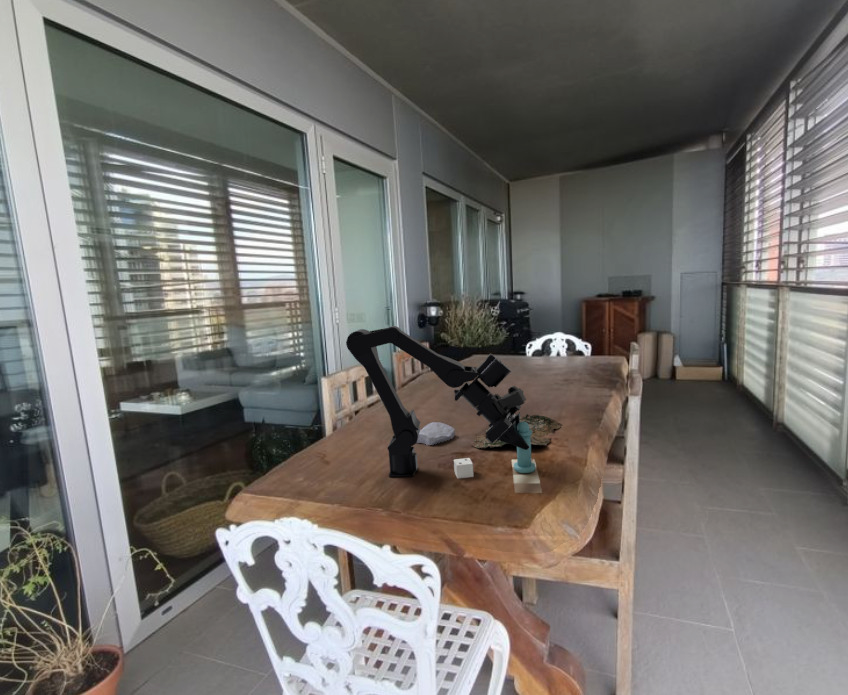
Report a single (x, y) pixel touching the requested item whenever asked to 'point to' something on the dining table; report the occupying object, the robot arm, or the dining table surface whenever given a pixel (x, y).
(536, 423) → the terrain model
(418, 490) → the dining table surface
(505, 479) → the dining table surface
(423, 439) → the stone block
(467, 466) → the die
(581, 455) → the dining table surface
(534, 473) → the board
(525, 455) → the pawn
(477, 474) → the dining table surface
